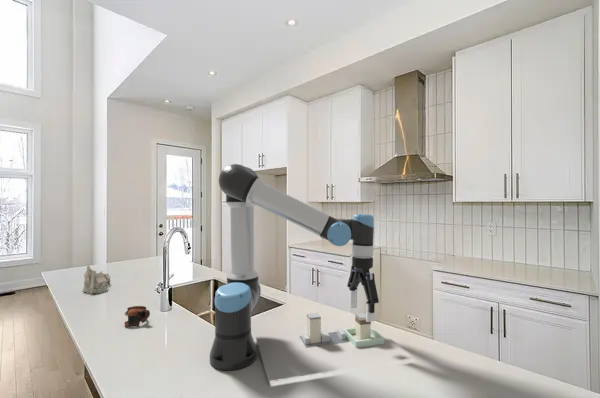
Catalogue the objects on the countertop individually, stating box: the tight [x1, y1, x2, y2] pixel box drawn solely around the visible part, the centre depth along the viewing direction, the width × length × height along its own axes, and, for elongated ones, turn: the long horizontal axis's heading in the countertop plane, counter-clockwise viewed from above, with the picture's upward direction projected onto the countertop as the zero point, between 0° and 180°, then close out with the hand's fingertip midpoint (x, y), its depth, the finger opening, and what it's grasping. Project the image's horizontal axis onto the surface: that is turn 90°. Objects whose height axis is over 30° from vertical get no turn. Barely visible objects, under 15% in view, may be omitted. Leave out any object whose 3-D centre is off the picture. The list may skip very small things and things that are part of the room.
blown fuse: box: [354, 312, 372, 341], centre depth 113 cm, size 4×4×9 cm
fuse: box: [306, 312, 322, 343], centre depth 112 cm, size 4×4×9 cm
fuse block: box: [299, 328, 350, 349], centre depth 113 cm, size 16×9×3 cm, turn 105°
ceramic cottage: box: [82, 265, 113, 294], centre depth 181 cm, size 16×16×15 cm
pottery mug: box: [124, 305, 151, 328], centre depth 132 cm, size 12×10×8 cm
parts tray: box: [342, 326, 385, 348], centre depth 113 cm, size 11×11×3 cm
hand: (361, 314), depth 113 cm, fingers open, 13 cm apart
